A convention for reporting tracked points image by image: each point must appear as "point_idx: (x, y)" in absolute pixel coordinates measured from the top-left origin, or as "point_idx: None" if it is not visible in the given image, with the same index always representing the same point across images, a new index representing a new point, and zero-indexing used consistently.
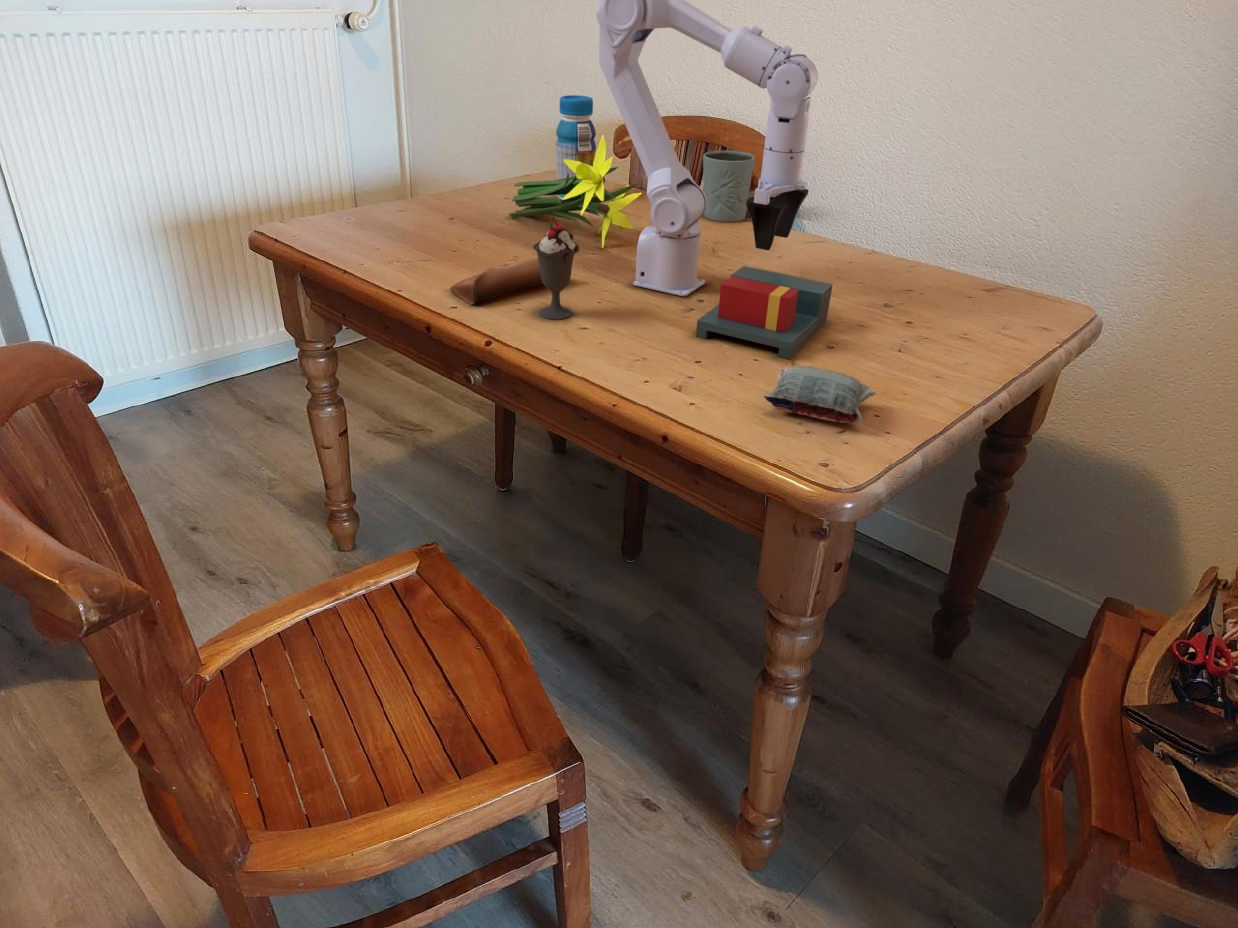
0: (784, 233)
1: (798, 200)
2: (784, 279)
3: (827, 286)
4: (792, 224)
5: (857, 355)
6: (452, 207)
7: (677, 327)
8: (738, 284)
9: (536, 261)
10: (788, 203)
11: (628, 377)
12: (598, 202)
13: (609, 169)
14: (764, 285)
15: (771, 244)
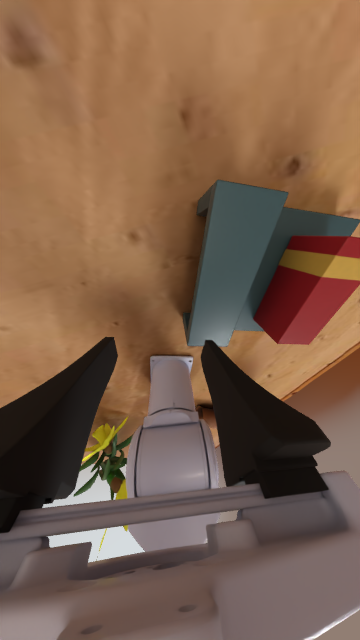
0: (111, 347)
1: (41, 428)
2: (223, 286)
3: (239, 189)
4: (89, 353)
5: (328, 92)
6: (124, 457)
7: (257, 339)
8: (312, 329)
9: (215, 426)
10: (70, 423)
11: (351, 333)
12: (97, 453)
13: (80, 492)
14: (318, 299)
15: (212, 345)
